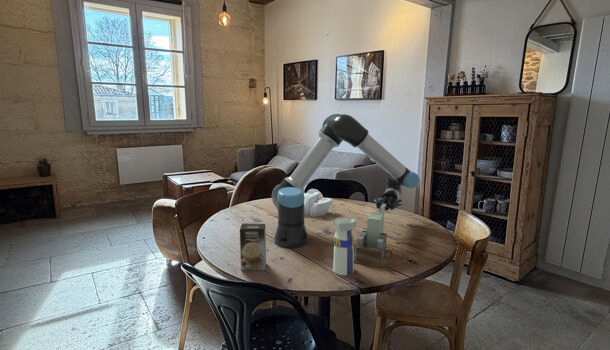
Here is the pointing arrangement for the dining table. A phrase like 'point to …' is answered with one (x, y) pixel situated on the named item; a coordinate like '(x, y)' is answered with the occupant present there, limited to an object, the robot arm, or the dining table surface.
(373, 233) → the sage block
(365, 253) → the band guide
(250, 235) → the food box
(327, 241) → the dining table surface
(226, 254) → the dining table surface
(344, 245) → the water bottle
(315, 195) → the wavy white extrusion
